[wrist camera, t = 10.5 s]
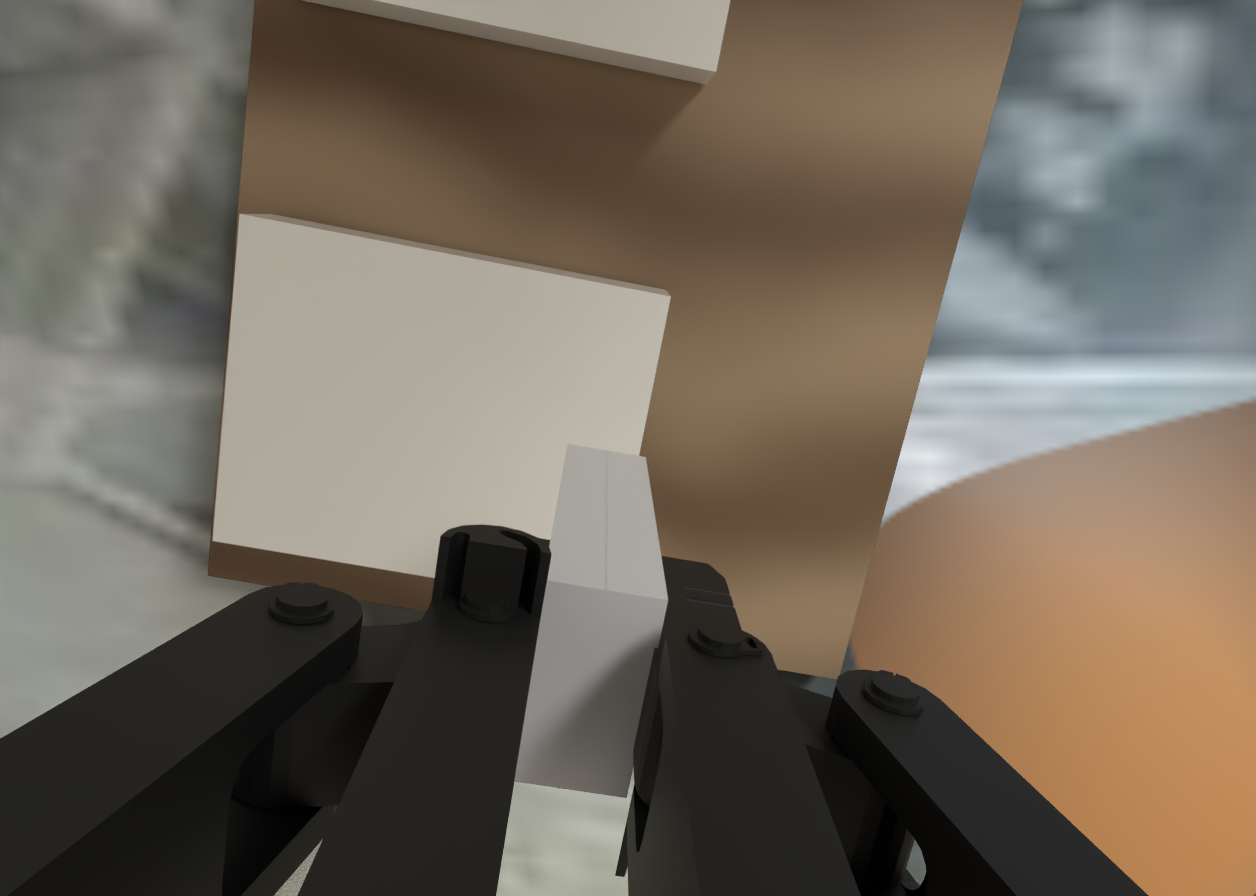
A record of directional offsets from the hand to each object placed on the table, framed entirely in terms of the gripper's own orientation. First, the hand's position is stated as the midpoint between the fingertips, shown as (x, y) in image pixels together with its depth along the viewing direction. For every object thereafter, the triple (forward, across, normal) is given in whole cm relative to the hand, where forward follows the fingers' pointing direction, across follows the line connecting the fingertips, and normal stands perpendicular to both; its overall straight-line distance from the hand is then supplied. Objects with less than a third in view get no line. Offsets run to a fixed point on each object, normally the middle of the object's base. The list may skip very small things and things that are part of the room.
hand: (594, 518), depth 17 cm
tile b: (+6, +1, 0) cm, 6 cm away
